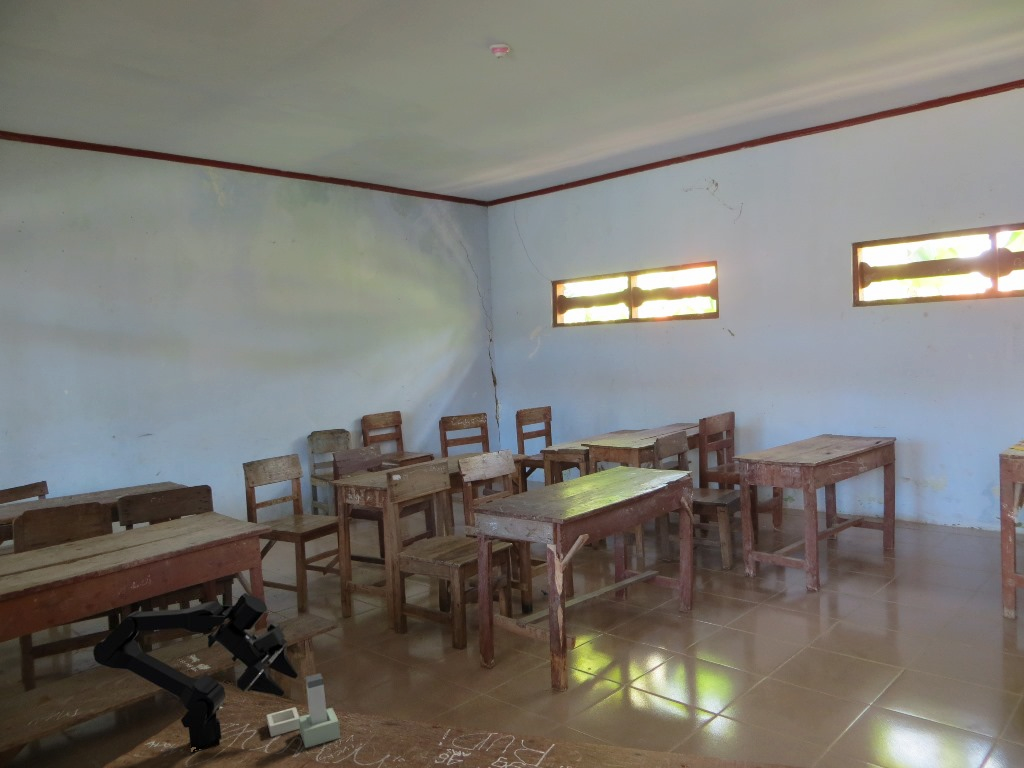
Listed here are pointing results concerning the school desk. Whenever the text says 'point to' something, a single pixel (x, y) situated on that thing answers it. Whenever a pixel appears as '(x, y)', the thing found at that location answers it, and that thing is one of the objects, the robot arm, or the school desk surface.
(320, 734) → the raised socket
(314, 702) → the plug
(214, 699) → the robot arm
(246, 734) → the school desk surface
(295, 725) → the low collar
